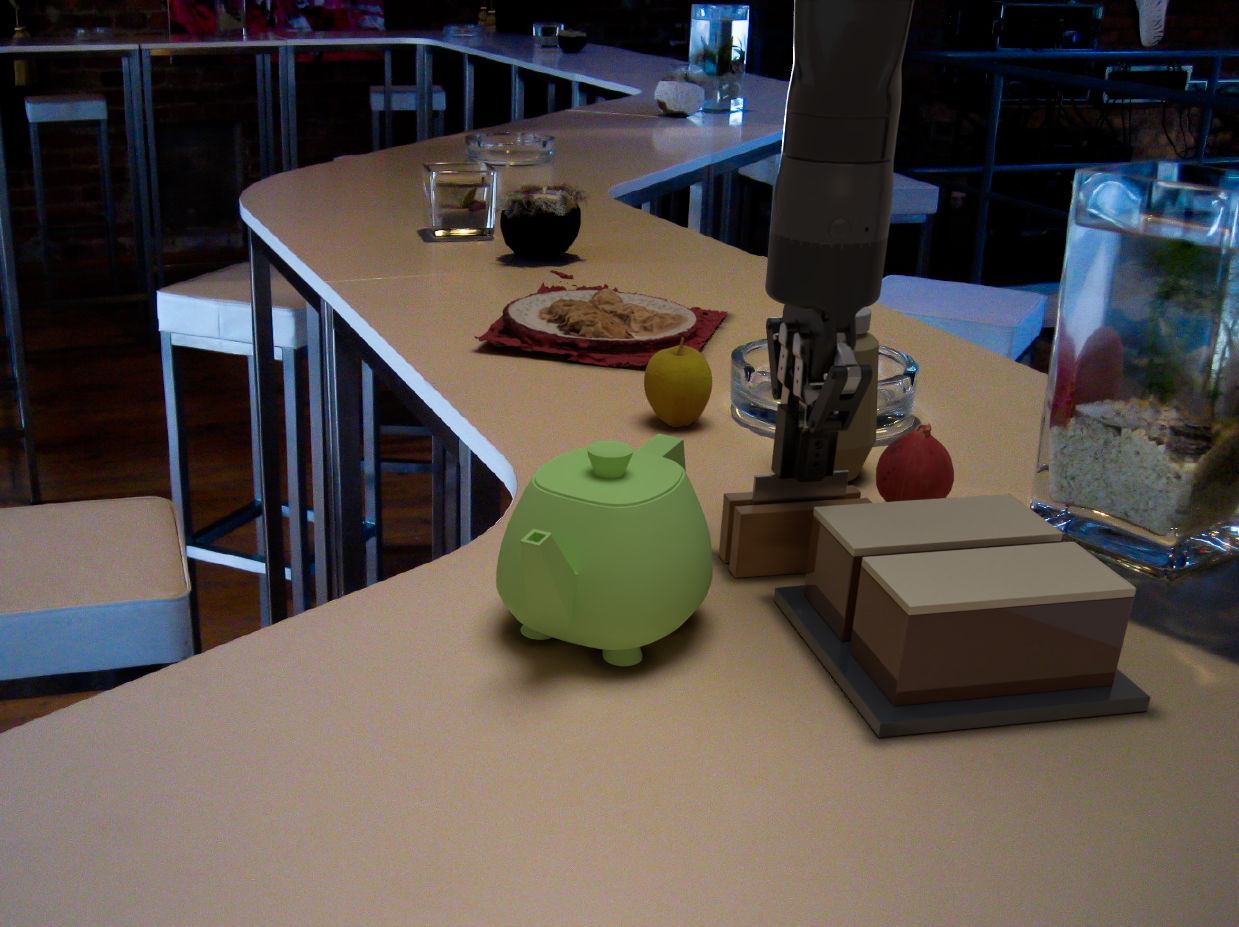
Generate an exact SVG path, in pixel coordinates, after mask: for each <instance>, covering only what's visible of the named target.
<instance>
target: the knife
mask: <svg viewBox="0 0 1239 927" xmlns="http://www.w3.org/2000/svg"><path fill="white" fill-rule="evenodd" d="M815 403H816V402H813V404H812V410H813V408H814V405H815ZM798 410H799V403H790V404H780V403H778V404H777V409H776V419H775V428H774V437H773V438H774V439H773V447H772V457H771V466H770V469H771V472H772V474H758V475H757V474H756V475H753V484H752V492H753V495H752V505H766V504H781V503H796V502H811V501H826V500H842V499H845V498H846V490H847V486H848V482H849V481H848V474H849V471H848V470H836V471H834V464H835V456H836V448H837V440H838V431H837V432H831V435H830V444H829V452H828V460H827V468H826V476H825V478H824V479H823V480H821V481H817V482H798V481H797V480H796V479H795V478H794V477H793V474H792V473H793V463H794V454H795V445H796V436H797V430H798V425H797V423H798Z"/></svg>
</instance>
